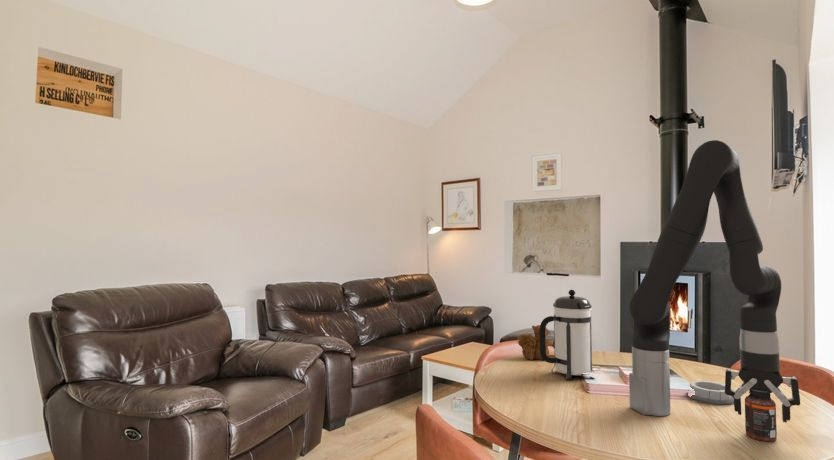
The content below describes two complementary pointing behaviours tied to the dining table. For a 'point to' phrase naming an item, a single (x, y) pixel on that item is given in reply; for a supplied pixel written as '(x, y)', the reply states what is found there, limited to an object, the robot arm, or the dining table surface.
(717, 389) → the bottle socket
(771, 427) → the supplement bottle
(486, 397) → the dining table surface
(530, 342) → the stuffed squirrel
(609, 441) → the dining table surface
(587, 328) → the coffee press
